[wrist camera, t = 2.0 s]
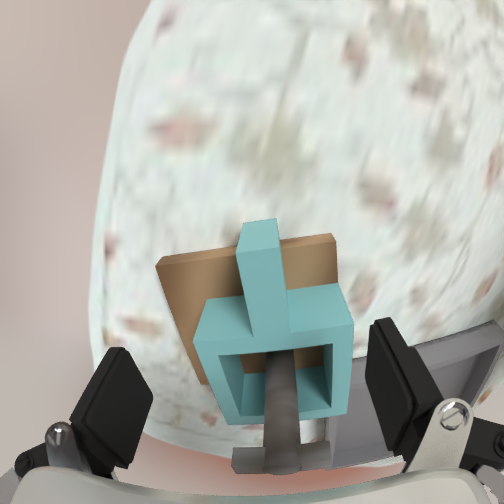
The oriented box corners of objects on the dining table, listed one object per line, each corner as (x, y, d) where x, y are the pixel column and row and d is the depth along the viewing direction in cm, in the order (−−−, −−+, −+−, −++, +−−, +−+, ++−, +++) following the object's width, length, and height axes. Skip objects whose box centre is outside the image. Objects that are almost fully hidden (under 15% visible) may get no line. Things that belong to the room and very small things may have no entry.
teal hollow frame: (333, 210, 17) (354, 237, 13) (337, 372, 22) (346, 413, 18) (188, 231, 18) (165, 262, 14) (233, 383, 23) (228, 424, 19)
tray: (493, 320, 21) (507, 336, 19) (447, 420, 29) (453, 434, 26) (325, 363, 24) (330, 388, 21) (323, 452, 31) (325, 470, 28)
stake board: (331, 233, 19) (398, 361, 8) (334, 360, 23) (358, 481, 12) (162, 256, 20) (77, 377, 9) (203, 372, 25) (177, 487, 14)
